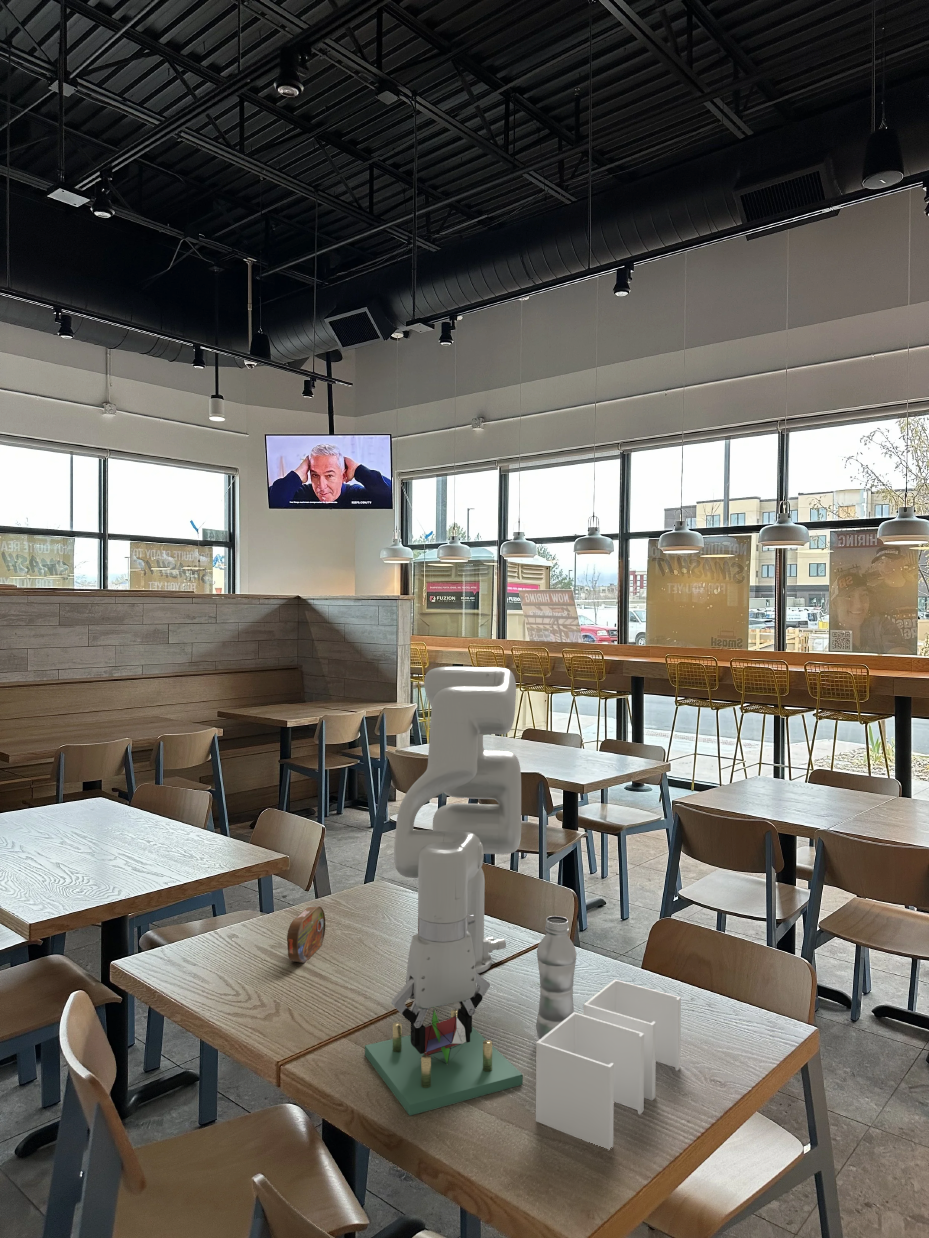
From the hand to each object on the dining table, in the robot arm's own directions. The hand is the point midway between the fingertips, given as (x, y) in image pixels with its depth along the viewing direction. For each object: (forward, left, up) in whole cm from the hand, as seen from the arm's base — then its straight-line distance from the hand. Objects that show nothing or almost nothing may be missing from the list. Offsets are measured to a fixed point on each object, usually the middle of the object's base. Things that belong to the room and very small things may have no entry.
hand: (441, 1042), depth 129 cm
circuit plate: (0, 0, -4) cm, 4 cm away
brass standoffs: (0, 0, -2) cm, 2 cm away
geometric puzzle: (0, 0, -2) cm, 2 cm away
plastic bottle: (-20, +1, -4) cm, 20 cm away
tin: (+6, -52, -4) cm, 52 cm away
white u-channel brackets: (-20, +17, -4) cm, 26 cm away
